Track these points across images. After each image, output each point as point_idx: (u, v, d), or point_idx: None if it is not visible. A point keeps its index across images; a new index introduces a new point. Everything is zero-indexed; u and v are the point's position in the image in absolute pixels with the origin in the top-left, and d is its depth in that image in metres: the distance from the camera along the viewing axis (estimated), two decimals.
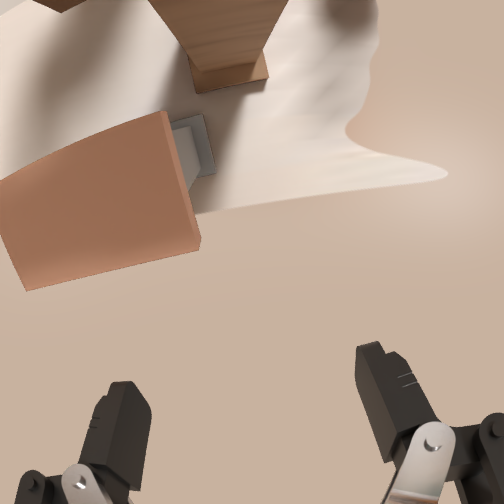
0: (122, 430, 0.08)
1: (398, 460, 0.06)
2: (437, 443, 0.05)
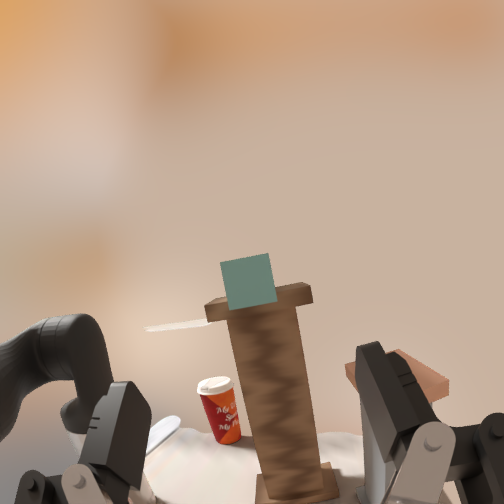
0: (122, 430, 0.08)
1: (398, 460, 0.06)
2: (437, 443, 0.05)
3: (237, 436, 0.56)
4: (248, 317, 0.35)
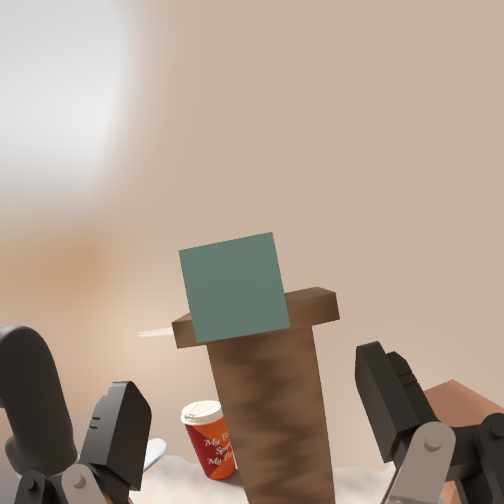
0: (122, 430, 0.08)
1: (398, 459, 0.06)
2: (437, 443, 0.05)
3: (230, 471, 0.43)
4: (239, 341, 0.22)
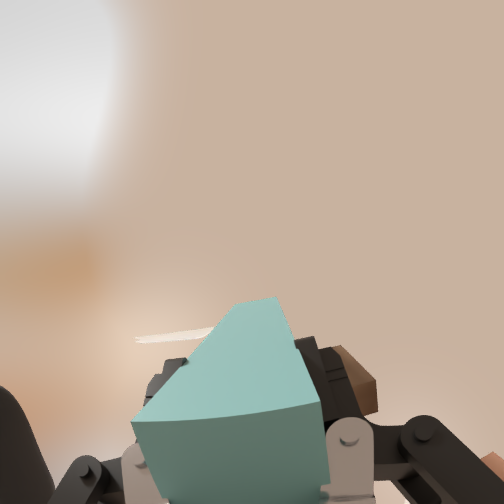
0: None
1: None
2: (353, 438, 0.06)
3: None
4: None
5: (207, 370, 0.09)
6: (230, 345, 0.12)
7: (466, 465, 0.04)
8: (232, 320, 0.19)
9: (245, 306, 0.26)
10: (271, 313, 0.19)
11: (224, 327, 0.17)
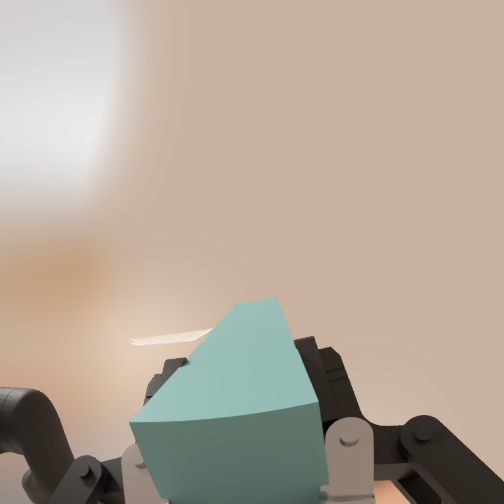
0: None
1: None
2: (353, 438, 0.06)
3: None
4: None
5: (207, 370, 0.09)
6: (229, 345, 0.12)
7: (465, 465, 0.04)
8: (232, 320, 0.19)
9: (245, 306, 0.26)
10: (271, 313, 0.19)
11: (223, 327, 0.17)
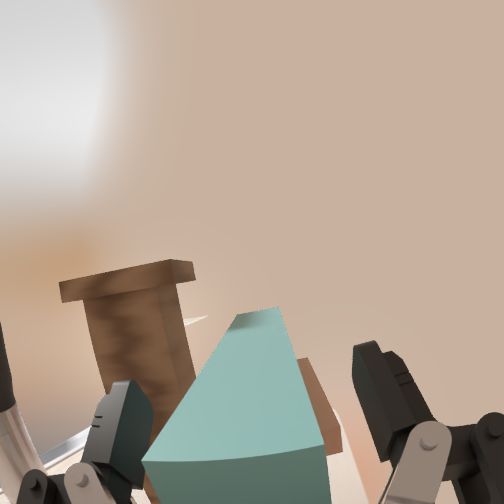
0: (124, 429, 0.08)
1: (394, 458, 0.06)
2: (433, 442, 0.05)
3: None
4: (104, 299, 0.26)
5: (213, 400, 0.09)
6: (234, 369, 0.12)
7: None
8: (235, 336, 0.19)
9: (247, 318, 0.26)
10: (274, 329, 0.19)
11: (227, 345, 0.17)
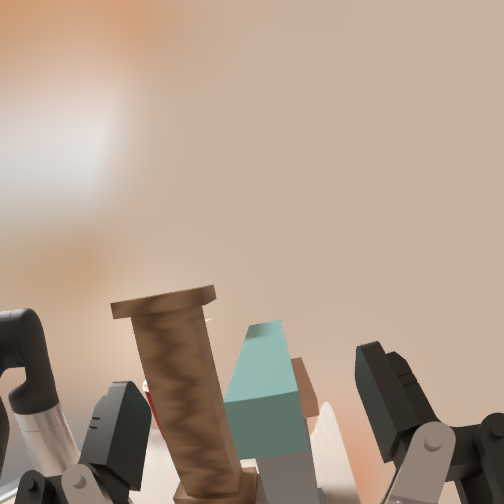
0: (122, 430, 0.08)
1: (397, 460, 0.06)
2: (437, 443, 0.05)
3: None
4: (149, 316, 0.36)
5: (248, 378, 0.18)
6: (255, 363, 0.21)
7: None
8: (251, 343, 0.28)
9: (258, 329, 0.35)
10: (277, 338, 0.28)
11: (248, 349, 0.26)
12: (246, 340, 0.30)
